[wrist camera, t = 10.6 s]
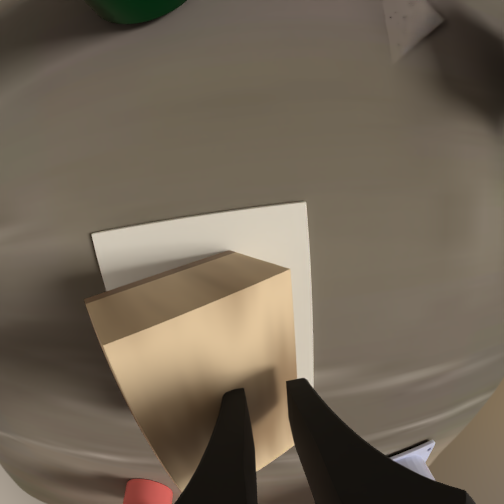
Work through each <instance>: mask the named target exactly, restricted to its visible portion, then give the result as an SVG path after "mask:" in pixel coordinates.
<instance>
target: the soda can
mask: <svg viewBox="0 0 504 504" xmlns="http://www.w3.org/2000/svg"><path fill="white" fill-rule="evenodd" d="M84 1H85V2H86V3H87V4H88V5H89V6H90V7H91V8H92V9H93V10H94V11H95V12H96V13H97V14H98V15H99V16H100V17H101V18H103V19H104V20H107V21H110V22H113V23H118V24H134V23H141V22H146V21H149V20H152V19H156V18H158V17H161V16H163V15H165V14H167V13H169V12H171V11H173V10H175V9H176V8H178V7H179V6H181V5H182V4H183V3H184V2H186V1H187V0H84Z"/></svg>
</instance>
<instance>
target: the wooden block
mask: <svg viewBox="0 0 504 504" xmlns="http://www.w3.org/2000/svg"><path fill="white" fill-rule="evenodd" d="M84 302H85V305H86V308H87V311H88V314H89V317H90V319H91V322H92V325H93V327H94V330H95V333H96V335H97V338H98V340H99V343H100V345H101V348H102V350H103V353H104V355H105V358H106V360H107V362H108V365H109V367H110V369H111V371H112V374H113V376H114V378H115V380H116V382H117V384H118V387H119V389H120V391H121V393H122V395H123V397H124V399H125V401H126V403H127V405H128V407H129V409H130V411H131V413H132V415H133V416H134V418H135V420H136V422H137V424H138V426H139V427H140V429H141V431H142V433H143V435H144V436H145V438H146V440H147V442H148V443H149V445H150V447H151V448H152V450H153V452H154V453H155V455H156V457H157V458H158V460H159V461H160V463H161V464H162V466H163V467H164V469H165V470H166V472H167V473H168V475H169V476H170V477H171V479H172V480H173V482H174V483H175V484H176V486H177V487H178V489H179V490H180V491H181V493H182V492H183V491H184V489H185V488H186V486H187V484H188V483H189V481H190V479H191V478H192V476H193V474H194V472H195V470H196V468H197V467H198V465H199V463H200V460H201V458H202V456H203V454H204V452H205V449H206V447H207V445H208V443H209V440H210V438H211V435H212V432H213V429H214V427H215V424H216V421H217V417H218V414H219V411H220V407H221V402H222V397H223V395H224V394H225V393H226V392H228V391H231V390H233V389H238V388H244V390H245V395H246V401H247V406H248V411H249V416H250V421H251V426H252V432H253V439H254V445H255V459H256V472H257V471H258V470H260V469H261V468H263V467H264V466H266V465H267V464H269V463H270V462H272V461H273V460H274V459H276V458H277V457H279V456H280V455H281V454H283V453H284V452H286V451H287V450H288V449H290V448H291V447H292V446H294V445H295V444H294V441H293V436H292V432H291V428H290V423H289V418H288V404H287V389H286V381H289V380H294V379H297V365H296V345H295V328H294V312H293V297H292V283H291V270H290V269H289V268H286V267H282V266H279V265H276V264H273V263H269V262H266V261H263V260H260V259H256V258H253V257H250V256H247V255H243V254H240V253H237V252H234V251H231V250H228V251H225V252H222V253H219V254H216V255H213V256H210V257H207V258H204V259H201V260H198V261H195V262H192V263H189V264H186V265H183V266H180V267H177V268H174V269H171V270H168V271H165V272H162V273H159V274H156V275H153V276H150V277H147V278H144V279H141V280H138V281H135V282H132V283H130V284H127V285H124V286H121V287H118V288H115V289H112V290H109V291H106V292H103V293H100V294H97V295H95V296H92V297H89V298H86V299H84Z"/></svg>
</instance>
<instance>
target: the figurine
mask: <svg viewBox="0 0 504 504" xmlns="http://www.w3.org/2000/svg"><path fill="white" fill-rule="evenodd" d="M172 496H173V492H172V490H171V489H170V488H168V487H167V486H165V485H163V484H161V483H158V482H155V481H151V480H146V479H132V480H129V481H128V482H127V485H126V490H125V496H124V501H123V504H172Z"/></svg>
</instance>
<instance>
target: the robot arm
mask: <svg viewBox="0 0 504 504" xmlns="http://www.w3.org/2000/svg"><path fill="white" fill-rule="evenodd" d="M286 389H287V404H288V418H289V423H290V428H291V432H292V436H293V441H294V444H295V447H296V450H297V453H298V455H299V458H300V461H301V464H302V466H303V469H304V472H305V475H306V477H307V480H308V483H309V485H310V488H311V491H312V494H313V497H314V500H315V504H475V502H474V501H473V499H472V498H471V497H470V496H469V494H468V493H467V492H466V491H465V490H461V489H458V488H455V487H452V486H448V485H445V484H443V483H440V482H437V481H435V479H434V477H433V476H432V474H431V472H430V470H429V469H428V467H427V465H426V463H425V462H426V460H427V458H428V456H429V454H430V453H431V451H432V449H433V447H434V445H435V442H434V440H431V441H428V442H426V443H424V444H422V445H419V446H417V447H415V448H412V449H410V450H408V451H405V452H403V453H400V454H397V455H395V456H392V457H387V456H386V455H384V454H383V453H381V452H380V451H378V450H377V449H375V448H374V447H373V446H371V445H370V444H369V443H367V442H366V441H365V440H363V439H362V438H361V437H360V436H359V435H357V434H356V433H355V432H354V431H353V430H352V429H351V428H349V427H348V426H347V425H346V424H345V423H344V422H343V421H342V420H341V419H340V418H339V417H338V416H337V415H336V414H335V413H334V412H333V411H332V410H331V409H330V408H329V407H328V405H327V404H326V403H325V402H324V401H323V400H322V399H321V397H320V396H319V395H318V394H317V393H316V391H315V390H314V389H313V387H312V386H311V385H310V383H309V382H308V380H307V379H305V378H299V379H294V380H289V381H286ZM175 504H258V503H257V482H256V459H255V445H254V439H253V432H252V426H251V421H250V416H249V411H248V406H247V401H246V395H245V390H244V388H238V389H233V390H231V391H228V392H226V393H225V394H224V395H223V397H222V402H221V407H220V411H219V414H218V417H217V421H216V424H215V427H214V429H213V432H212V435H211V438H210V440H209V443H208V445H207V447H206V449H205V452H204V454H203V456H202V458H201V460H200V463H199V465H198V467H197V468H196V470H195V472H194V474H193V476H192V478H191V479H190V481H189V483H188V484H187V486H186V488H185V489H184V491H183V492H182V494H181V495H180V497H179V498H178V500H177V501H176V502H175Z"/></svg>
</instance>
